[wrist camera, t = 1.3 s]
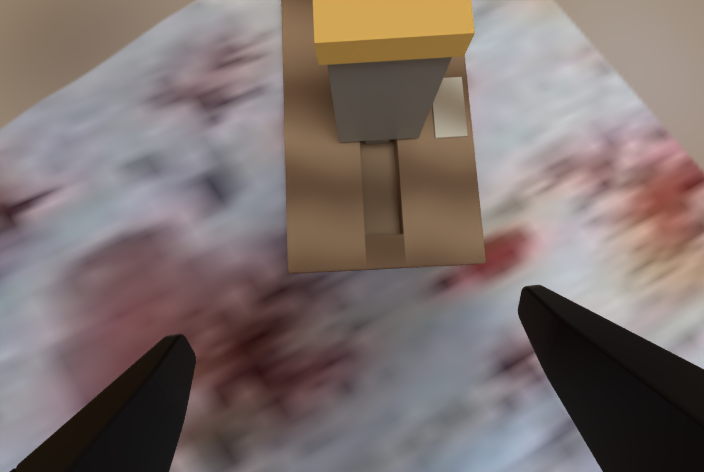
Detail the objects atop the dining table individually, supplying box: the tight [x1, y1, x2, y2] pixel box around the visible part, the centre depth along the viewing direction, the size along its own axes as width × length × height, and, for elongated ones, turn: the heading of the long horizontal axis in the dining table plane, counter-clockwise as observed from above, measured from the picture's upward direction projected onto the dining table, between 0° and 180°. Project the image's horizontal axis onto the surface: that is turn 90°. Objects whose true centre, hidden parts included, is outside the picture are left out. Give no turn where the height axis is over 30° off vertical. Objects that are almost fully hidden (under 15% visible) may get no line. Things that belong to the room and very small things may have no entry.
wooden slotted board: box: [282, 0, 486, 273], centre depth 22 cm, size 22×12×3 cm, turn 3°
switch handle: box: [313, 0, 475, 144], centre depth 17 cm, size 5×6×11 cm
